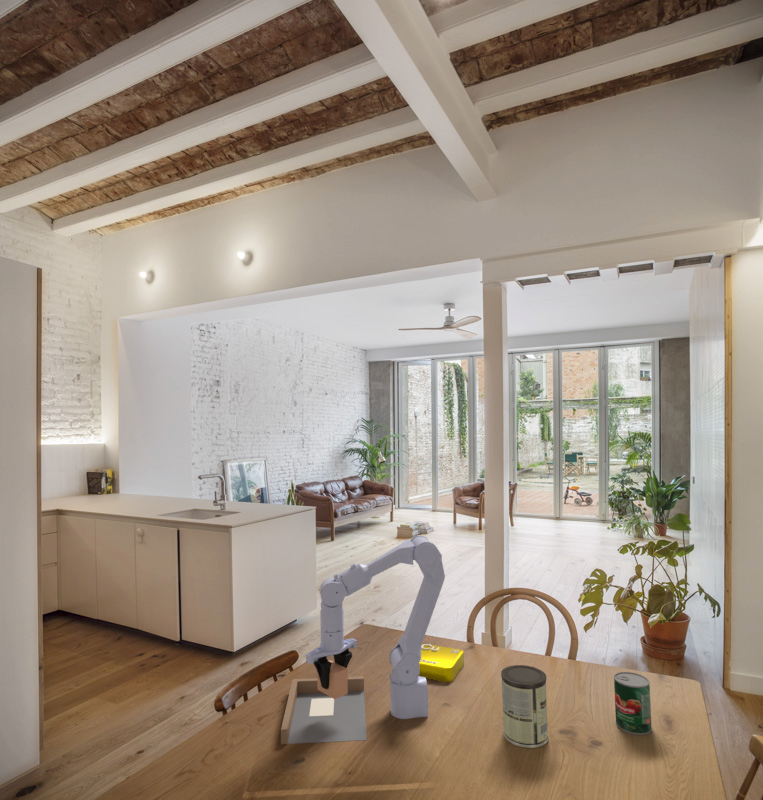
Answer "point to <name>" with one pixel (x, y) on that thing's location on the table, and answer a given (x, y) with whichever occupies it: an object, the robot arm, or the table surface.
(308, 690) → the arena
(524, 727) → the coffee can
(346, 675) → the block
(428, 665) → the element tile
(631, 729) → the canned tomato
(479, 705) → the table surface
